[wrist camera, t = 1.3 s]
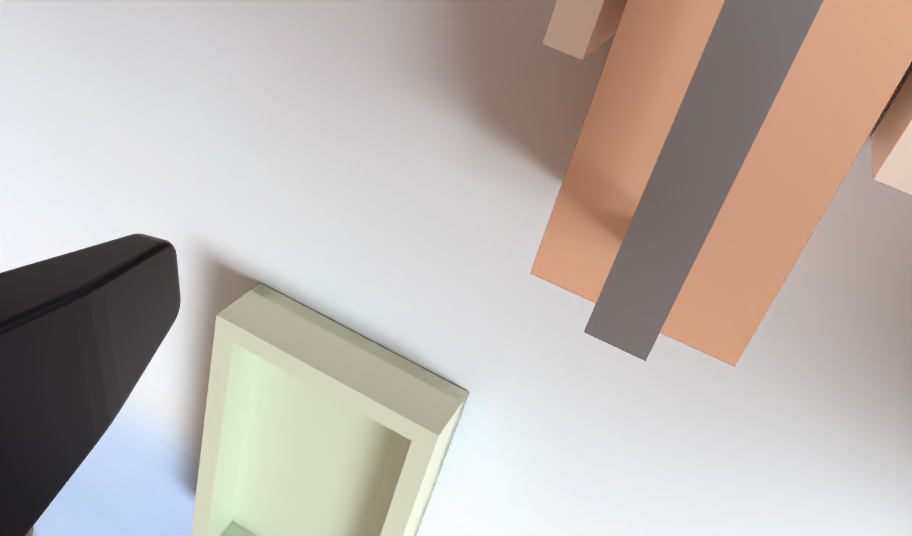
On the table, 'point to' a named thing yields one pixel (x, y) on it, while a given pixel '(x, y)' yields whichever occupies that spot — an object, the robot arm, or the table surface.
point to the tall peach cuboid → (715, 160)
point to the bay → (596, 20)
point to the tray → (315, 428)
